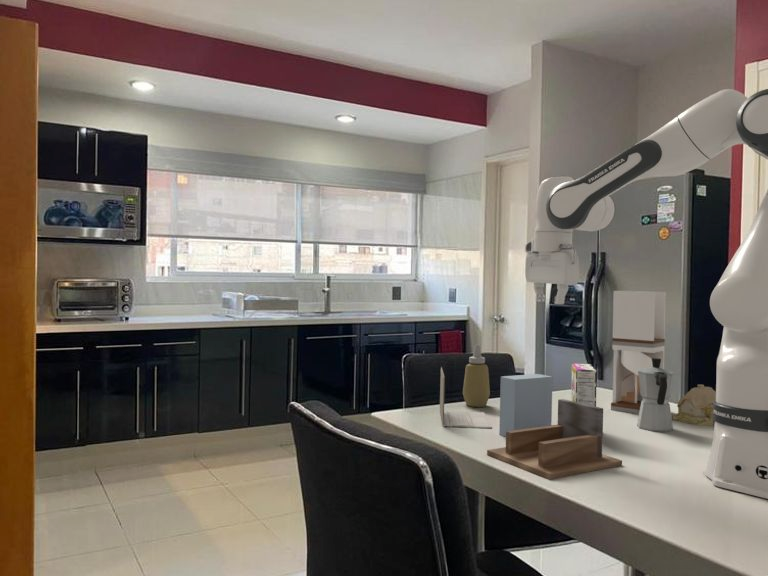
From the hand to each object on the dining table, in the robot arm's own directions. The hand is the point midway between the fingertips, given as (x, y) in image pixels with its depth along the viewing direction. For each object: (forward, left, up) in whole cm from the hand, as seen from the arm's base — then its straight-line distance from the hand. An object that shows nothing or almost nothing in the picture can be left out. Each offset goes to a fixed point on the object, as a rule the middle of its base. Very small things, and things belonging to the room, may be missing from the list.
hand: (549, 302), depth 147 cm
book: (+3, +4, -32) cm, 32 cm away
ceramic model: (-6, -52, -32) cm, 61 cm away
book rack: (-16, +14, -32) cm, 38 cm away
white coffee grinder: (+11, -47, -32) cm, 58 cm away
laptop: (+22, +8, -33) cm, 40 cm away
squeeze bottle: (+36, -7, -32) cm, 49 cm away
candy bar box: (-2, -10, -32) cm, 34 cm away
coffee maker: (-7, -31, -32) cm, 45 cm away
